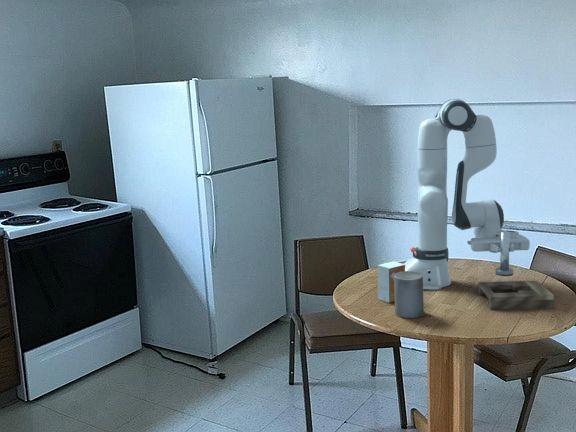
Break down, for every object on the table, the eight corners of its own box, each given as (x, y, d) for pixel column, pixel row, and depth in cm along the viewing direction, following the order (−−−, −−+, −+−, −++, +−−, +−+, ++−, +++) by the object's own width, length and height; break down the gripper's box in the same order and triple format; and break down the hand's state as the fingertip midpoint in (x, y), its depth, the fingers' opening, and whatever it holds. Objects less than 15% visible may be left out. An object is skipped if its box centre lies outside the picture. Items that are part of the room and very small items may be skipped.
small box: (389, 303, 227) (388, 268, 225) (377, 299, 232) (376, 264, 230) (405, 298, 232) (405, 264, 229) (393, 294, 237) (393, 260, 234)
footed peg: (498, 276, 220) (499, 234, 217) (493, 271, 226) (494, 230, 223) (515, 276, 220) (516, 233, 217) (510, 271, 226) (511, 230, 223)
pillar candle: (411, 306, 223) (410, 265, 220) (429, 314, 214) (429, 272, 211) (389, 312, 218) (387, 270, 215) (406, 320, 210) (405, 277, 207)
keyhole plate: (490, 309, 216) (491, 297, 215) (478, 294, 233) (478, 282, 232) (553, 308, 215) (553, 295, 214) (536, 292, 232) (536, 280, 231)
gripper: (466, 232, 234) (475, 241, 220) (522, 231, 233) (535, 239, 219) (465, 249, 235) (475, 259, 221) (521, 247, 234) (534, 257, 220)
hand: (505, 249), depth 220 cm, fingers closed on footed peg, 3 cm apart
